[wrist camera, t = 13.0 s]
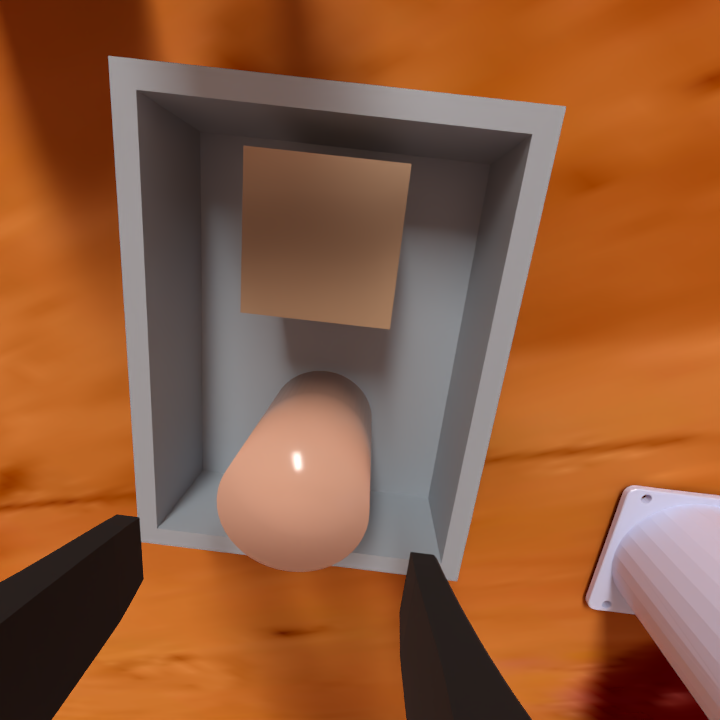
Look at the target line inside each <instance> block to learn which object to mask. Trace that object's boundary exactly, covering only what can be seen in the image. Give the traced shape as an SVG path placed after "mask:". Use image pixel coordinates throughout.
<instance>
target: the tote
mask: <svg viewBox="0 0 720 720" xmlns="http://www.w3.org/2000/svg"><path fill="white" fill-rule="evenodd" d="M108 63H109V79H110V94H111V110H112V125H113V141H114V156H115V172H116V188H117V203H118V219H119V234H120V250H121V265H122V281H123V296H124V312H125V327H126V343H127V359H128V374H129V390H130V405H131V421H132V436H133V452H134V467H135V483H136V499H137V514H138V517H140V532H141V542H145V543H153V544H162V545H170V546H178V547H186V548H194V549H202V550H210V551H218V552H226V553H234V554H242V555H246V554H245V553H243V552H242V551H241V550H240V549H239V548H238V547H237V546H236V545H235V544H234V543H233V542H232V541H231V540H230V538H229V537H228V535H227V534H226V532H225V530H224V528H223V526H222V524H221V522H220V519H219V516H218V510H217V492H218V487H219V484H220V481H221V479H222V477H223V475H224V473H225V472H226V470H227V469H228V467H229V466H230V464H231V463H232V461H233V460H234V458H235V457H236V455H237V454H238V452H239V451H240V449H241V448H242V446H243V445H244V443H245V442H246V440H247V439H248V437H249V436H250V434H251V433H252V431H253V430H254V428H255V427H256V425H257V424H258V422H259V421H260V420H261V418H262V417H263V415H264V414H265V412H266V411H267V409H268V408H269V406H270V405H271V403H272V402H273V400H274V399H275V397H276V396H277V394H278V393H279V391H280V390H281V388H282V387H283V386H284V385H285V384H286V383H287V382H289V381H290V380H291V379H293V378H294V377H296V376H298V375H300V374H303V373H307V372H311V371H329V372H333V373H337V374H340V375H342V376H344V377H346V378H348V379H349V380H351V381H352V382H354V383H355V384H356V385H357V386H358V387H359V388H360V389H361V390H362V391H363V393H364V394H365V396H366V398H367V400H368V402H369V405H370V408H371V413H372V439H371V475H370V510H369V522H368V526H367V529H366V532H365V534H364V536H363V538H362V540H361V542H360V543H359V545H358V546H357V547H356V548H355V549H354V551H353V552H351V553H350V554H349V555H348V556H347V557H346V558H344V559H343V560H341V561H340V562H338V563H336V564H334V565H332V566H338V567H346V568H355V569H363V570H371V571H379V572H387V573H395V574H403V575H406V574H407V569H408V563H409V558H410V552H416V553H424V554H432V555H434V556H435V557H436V558H437V560H438V562H439V564H440V566H441V568H442V570H443V573H444V575H445V577H446V579H447V580H451V581H457V579H458V575H459V571H460V566H461V562H462V558H463V553H464V549H465V545H466V540H467V536H468V532H469V527H470V523H471V519H472V514H473V510H474V505H475V501H476V497H477V492H478V488H479V484H480V479H481V475H482V471H483V466H484V462H485V458H486V453H487V449H488V445H489V440H490V436H491V432H492V427H493V423H494V419H495V414H496V410H497V405H498V401H499V397H500V392H501V388H502V384H503V379H504V375H505V371H506V366H507V362H508V358H509V353H510V349H511V345H512V340H513V336H514V332H515V327H516V323H517V319H518V314H519V310H520V305H521V301H522V297H523V292H524V288H525V284H526V279H527V275H528V271H529V266H530V262H531V258H532V253H533V249H534V245H535V240H536V236H537V232H538V227H539V223H540V219H541V214H542V210H543V205H544V201H545V197H546V192H547V188H548V184H549V179H550V175H551V171H552V166H553V162H554V158H555V153H556V149H557V145H558V140H559V136H560V132H561V127H562V123H563V119H564V114H565V110H566V106H557V105H548V104H539V103H530V102H521V101H512V100H503V99H494V98H485V97H476V96H467V95H458V94H449V93H440V92H431V91H422V90H413V89H404V88H395V87H386V86H377V85H368V84H359V83H350V82H341V81H332V80H323V79H314V78H305V77H296V76H287V75H278V74H269V73H260V72H251V71H242V70H233V69H224V68H215V67H206V66H197V65H188V64H179V63H170V62H161V61H152V60H143V59H134V58H125V57H116V56H108ZM243 146H252V147H262V148H271V149H280V150H289V151H298V152H307V153H317V154H326V155H335V156H344V157H353V158H363V159H372V160H381V161H390V162H399V163H409V164H412V165H411V173H410V180H409V188H408V195H407V203H406V211H405V218H404V226H403V233H402V241H401V249H400V256H399V264H398V272H397V279H396V287H395V294H394V302H393V310H392V317H391V325H390V330H389V329H381V328H372V327H363V326H354V325H345V324H337V323H328V322H319V321H310V320H302V319H293V318H284V317H275V316H266V315H258V314H249V313H240V307H241V252H242V197H243Z"/></svg>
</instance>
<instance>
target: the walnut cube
mask: <svg viewBox="0 0 720 720" xmlns="http://www.w3.org/2000/svg"><path fill="white" fill-rule="evenodd" d="M411 165H412V164H409V163H399V162H390V161H381V160H372V159H363V158H353V157H344V156H335V155H326V154H317V153H307V152H298V151H289V150H280V149H271V148H262V147H252V146H243V197H242V252H241V307H240V313H249V314H258V315H266V316H275V317H284V318H293V319H302V320H310V321H319V322H328V323H337V324H345V325H354V326H363V327H372V328H381V329H389V330H390V325H391V317H392V310H393V302H394V294H395V287H396V279H397V272H398V264H399V256H400V249H401V241H402V233H403V226H404V218H405V211H406V203H407V195H408V188H409V180H410V173H411Z"/></svg>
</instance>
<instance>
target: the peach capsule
mask: <svg viewBox="0 0 720 720" xmlns="http://www.w3.org/2000/svg"><path fill="white" fill-rule="evenodd" d="M371 439H372V413H371V408H370V405H369V402H368V400H367V398H366V396H365V394H364V393H363V391H362V390H361V389H360V388H359V387H358V386H357V385H356V384H355V383H354V382H352V381H351V380H349V379H348V378H346V377H344V376H342V375H340V374H337V373H333V372H329V371H311V372H307V373H303V374H300V375H298V376H296V377H294V378H293V379H291V380H290V381H289V382H287V383H286V384H285V385H284V386H283V387H282V388H281V390H280V391H279V393H278V394H277V396H276V397H275V399H274V400H273V402H272V403H271V405H270V406H269V408H268V409H267V411H266V412H265V414H264V415H263V417H262V418H261V420H260V421H259V422H258V424H257V425H256V427H255V428H254V430H253V431H252V433H251V434H250V436H249V437H248V439H247V440H246V442H245V443H244V445H243V446H242V448H241V449H240V451H239V452H238V454H237V455H236V457H235V458H234V460H233V461H232V463H231V464H230V466H229V467H228V469H227V470H226V472H225V473H224V475H223V477H222V479H221V481H220V484H219V487H218V492H217V510H218V516H219V519H220V522H221V524H222V526H223V528H224V530H225V532H226V534H227V535H228V537H229V538H230V540H231V541H232V542H233V543H234V544H235V545H236V546H237V547H238V548H239V549H240V550H241V551H242V552H243V553H245V554H246V555H247V556H249V557H250V558H252V559H254V560H255V561H257V562H259V563H261V564H263V565H266V566H268V567H272V568H275V569H279V570H283V571H291V572H307V571H315V570H319V569H323V568H326V567H329V566H332V565H334V564H336V563H338V562H340V561H341V560H343V559H344V558H346V557H347V556H348V555H349V554H350V553H351V552H353V551H354V549H355V548H356V547H357V546H358V545H359V543H360V542H361V540H362V538H363V536H364V534H365V532H366V529H367V526H368V522H369V510H370V475H371Z"/></svg>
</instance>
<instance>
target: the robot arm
mask: <svg viewBox="0 0 720 720" xmlns="http://www.w3.org/2000/svg"><path fill="white" fill-rule="evenodd" d="M644 495H646V496H645V497H644V498H642V497H643V496H644ZM142 581H143V565H142V549H141V532H140V517H132V516H124V515H115V516H114V517H112V518H110V519H108V520H106V521H105V522H103V523H101V524H99V525H98V526H96V527H94V528H93V529H91V530H89V531H88V532H86V533H84V534H83V535H81V536H79V537H78V538H76V539H74V540H72V541H71V542H69V543H67V544H66V545H64V546H62V547H61V548H59V549H57V550H56V551H54V552H52V553H51V554H49V555H47V556H45V557H44V558H42V559H40V560H39V561H37V562H35V563H34V564H32V565H30V566H28V567H27V568H25V569H23V570H22V571H20V572H18V573H16V574H15V575H13V576H11V577H9V578H7V579H5V580H4V581H2V582H0V720H52V718H53V717H54V715H55V714H56V713H57V711H58V710H59V708H60V707H61V706H62V704H63V703H64V701H65V700H66V698H67V697H68V696H69V694H70V693H71V691H72V690H73V688H74V687H75V686H76V684H77V683H78V681H79V680H80V678H81V677H82V676H83V674H84V673H85V671H86V670H87V668H88V667H89V666H90V664H91V663H92V661H93V660H94V659H95V657H96V656H97V654H98V653H99V651H100V650H101V648H102V647H103V646H104V644H105V643H106V641H107V640H108V638H109V637H110V635H111V634H112V633H113V631H114V630H115V628H116V627H117V625H118V624H119V622H120V621H121V619H122V617H123V615H124V614H125V612H126V610H127V608H128V607H129V605H130V603H131V601H132V599H133V598H134V596H135V594H136V592H137V590H138V588H139V586H140V585H141V583H142ZM585 600H586V602H587V604H588V605H589V607H590V608H592V609H595V610H603V611H611V612H619V613H627V614H635V615H636V616H637V618H638V619H639V620H640V622H641V623H642V625H643V626H644V628H645V629H646V630H647V632H648V633H649V635H650V636H651V638H652V639H653V640H654V642H655V643H656V645H657V646H658V648H659V649H660V650H661V652H662V653H663V655H664V656H665V658H666V659H667V660H668V662H669V663H670V665H671V666H672V668H673V669H674V670H675V672H676V673H677V675H678V676H679V677H680V679H681V680H682V682H683V683H684V685H685V686H686V687H687V689H688V690H689V692H690V693H691V695H692V696H693V697H694V699H695V700H696V702H697V703H698V705H699V706H700V707H701V709H702V710H703V712H704V713H705V715H706V716H707V717H708V719H709V720H720V496H719V495H710V494H702V493H694V492H686V491H677V490H669V489H661V488H653V487H644V486H636V485H633V486H629V487H627V488H626V489H625V490H624V491H623V493H622V496H621V499H620V502H619V505H618V507H617V510H616V513H615V516H614V519H613V522H612V524H611V527H610V530H609V533H608V536H607V538H606V541H605V544H604V547H603V550H602V552H601V555H600V558H599V561H598V564H597V567H596V569H595V572H594V575H593V578H592V581H591V583H590V586H589V589H588V592H587V595H586V599H585ZM400 660H401V671H402V680H403V690H404V699H405V709H406V718H407V720H532V719H531V718H530V716H529V715H528V714H527V712H526V711H525V709H524V708H523V707H522V705H521V704H520V702H519V701H518V699H517V698H516V696H515V695H514V693H513V692H512V690H511V689H510V687H509V686H508V684H507V683H506V681H505V680H504V678H503V677H502V675H501V674H500V672H499V670H498V669H497V667H496V666H495V664H494V663H493V661H492V659H491V658H490V656H489V655H488V653H487V651H486V650H485V648H484V646H483V645H482V643H481V641H480V640H479V638H478V636H477V634H476V633H475V631H474V629H473V627H472V626H471V624H470V622H469V620H468V619H467V617H466V615H465V613H464V612H463V610H462V608H461V606H460V604H459V602H458V600H457V598H456V596H455V595H454V593H453V591H452V589H451V587H450V585H449V583H448V581H447V579H446V577H445V575H444V573H443V570H442V568H441V566H440V564H439V562H438V560H437V558H436V557H435V556H434V555H432V554H424V553H416V552H410V558H409V563H408V569H407V574H406V580H405V585H404V591H403V596H402V602H401V607H400Z"/></svg>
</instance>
